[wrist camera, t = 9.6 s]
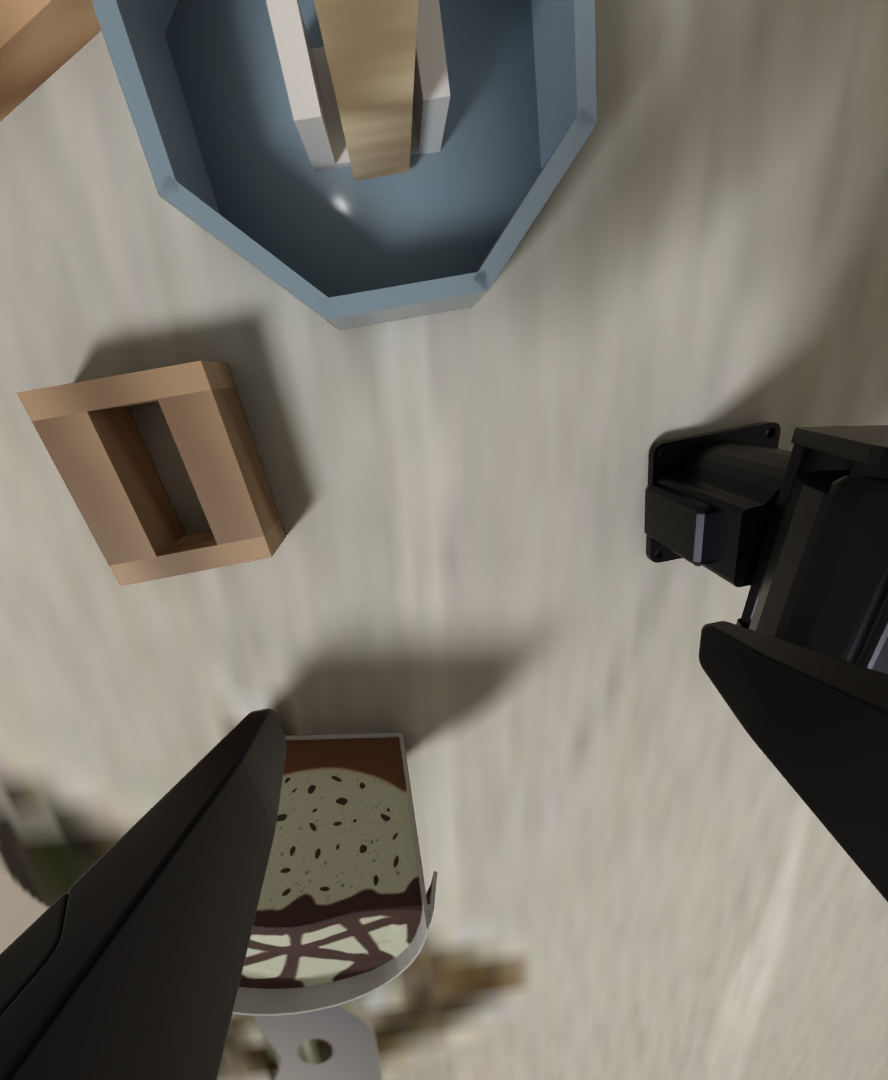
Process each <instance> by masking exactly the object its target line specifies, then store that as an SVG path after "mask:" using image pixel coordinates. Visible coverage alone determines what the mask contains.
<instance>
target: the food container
mask: <svg viewBox="0 0 888 1080" xmlns="http://www.w3.org/2000/svg"><path fill="white" fill-rule="evenodd" d="M285 738H286V744H287V749H286V757H285V764H284V772H283V780H282V787H281V795H280V802H279V810H278V817H277V823H276V830H275V834H274V839H273V844H272V848H271V852H270V857H269V861H268V865H267V869H266V873H265V878H264V882H263V886H262V890H261V895H260V899H259V903H258V907H257V912H256V916H255V920H254V924H253V928H252V933H251V937H250V941H249V945H248V950H247V954H246V958H245V962H244V966H243V971H242V975H241V979H240V983H239V988H238V992H237V996H236V1000H235V1005H234V1009H233V1013H232V1014H240V1015H251V1016H259V1015H260V1016H261V1015H262V1016H275V1015H289V1014H298V1013H305V1012H312V1011H317V1010H322V1009H326V1008H330V1007H335V1006H338V1005H341V1004H344V1003H347V1002H350V1001H353V1000H356V999H358V998H360V997H363V996H365V995H367V994H370V993H372V992H374V991H375V990H377V989H379V988H381V987H383V986H384V985H386V984H388V983H389V982H390V981H392V980H393V979H395V978H396V977H397V976H399V975H400V974H401V973H402V972H403V971H404V970H405V969H406V968H408V967H409V966H410V965H411V964H412V962H413V961H414V960H415V958H416V957H417V956H418V954H419V953H420V951H421V949H422V947H423V945H424V943H425V941H426V938H427V934H428V929H429V924H430V922H431V919H432V915H433V910H434V902H435V891H436V881H437V872H435V871H434V873H433V878H432V882H431V885H430V887H429V889H428V892H427V894H426V891H425V884H424V877H423V870H422V864H421V857H420V850H419V843H418V836H417V829H416V822H415V815H414V808H413V801H412V794H411V787H410V780H409V773H408V766H407V759H406V752H405V745H404V738H403V732H397V733H362V734H328V735H293V736H285Z"/></svg>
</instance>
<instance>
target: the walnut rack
mask: <svg viewBox="0 0 888 1080" xmlns="http://www.w3.org/2000/svg"><path fill="white" fill-rule="evenodd" d="M17 394H18V396H19V398H20V400H21V402H22V404H23V406H24V408H25V409H26V411H27V413H28V415H29V417H30V419H31V421H32V422H33V424H34V426H35V428H36V430H37V432H38V434H39V436H40V437H41V439H42V441H43V443H44V445H45V447H46V449H47V451H48V452H49V454H50V456H51V458H52V460H53V462H54V464H55V465H56V467H57V469H58V471H59V473H60V475H61V477H62V479H63V480H64V482H65V484H66V486H67V488H68V490H69V492H70V494H71V495H72V497H73V499H74V501H75V503H76V505H77V507H78V508H79V510H80V512H81V514H82V516H83V518H84V520H85V522H86V523H87V525H88V527H89V529H90V531H91V533H92V535H93V537H94V538H95V540H96V542H97V544H98V546H99V548H100V550H101V552H102V553H103V555H104V557H105V559H106V561H107V563H108V565H109V566H110V568H111V570H112V572H113V574H114V576H115V578H116V580H117V581H118V583H119V585H120V586H124V585H129V584H134V583H139V582H145V581H150V580H155V579H160V578H165V577H171V576H176V575H181V574H186V573H191V572H197V571H202V570H207V569H212V568H217V567H223V566H228V565H233V564H238V563H243V562H249V561H254V560H259V559H264V558H269V557H272V556H273V555H274V553H275V552H276V550H277V549H278V547H279V546H280V545H281V543H282V542H283V540H284V539H285V537H286V535H285V532H284V529H283V526H282V523H281V520H280V517H279V514H278V511H277V508H276V505H275V502H274V499H273V496H272V493H271V490H270V487H269V485H268V482H267V479H266V476H265V473H264V470H263V467H262V464H261V461H260V458H259V455H258V452H257V449H256V446H255V443H254V440H253V437H252V434H251V431H250V428H249V426H248V423H247V420H246V417H245V414H244V411H243V408H242V405H241V402H240V399H239V396H238V393H237V390H236V387H235V384H234V381H233V378H232V375H231V372H230V370H229V367H228V364H227V363H225V362H212V361H195V362H190V363H184V364H178V365H173V366H167V367H161V368H156V369H150V370H144V371H139V372H133V373H127V374H121V375H116V376H110V377H104V378H99V379H93V380H87V381H82V382H76V383H70V384H65V385H59V386H53V387H47V388H42V389H36V390H30V391H25V392H19V393H17ZM153 402H159V404H160V407H161V409H162V411H163V414H164V416H165V419H166V421H167V424H168V426H169V428H170V431H171V433H172V436H173V438H174V441H175V443H176V445H177V448H178V450H179V453H180V455H181V458H182V460H183V462H184V465H185V467H186V470H187V472H188V475H189V477H190V479H191V482H192V484H193V487H194V489H195V491H196V494H197V496H198V499H199V501H200V504H201V506H202V508H203V511H204V513H205V516H206V518H207V521H208V523H209V525H210V528H211V530H212V531H207V532H201V533H196V534H191V535H186V536H185V535H184V533H183V531H182V528H181V526H180V524H179V521H178V519H177V517H176V515H175V512H174V510H173V508H172V506H171V503H170V501H169V499H168V497H167V494H166V492H165V490H164V487H163V485H162V483H161V481H160V478H159V476H158V474H157V472H156V469H155V467H154V465H153V463H152V460H151V458H150V456H149V454H148V451H147V449H146V447H145V444H144V442H143V440H142V438H141V435H140V433H139V431H138V429H137V426H136V424H135V422H134V420H133V417H132V415H131V413H130V411H129V408H128V407H130V406H136V405H141V404H147V403H153Z"/></svg>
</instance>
